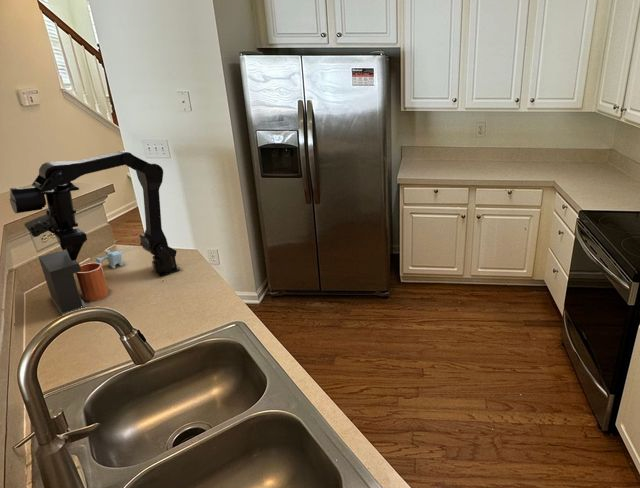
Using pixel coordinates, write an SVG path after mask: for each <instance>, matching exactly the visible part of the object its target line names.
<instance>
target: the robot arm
mask: <svg viewBox="0 0 640 488" xmlns="http://www.w3.org/2000/svg"><path fill="white" fill-rule="evenodd" d="M122 166H126V167H129V168H130V169H132V170H133V171H135V173H136V176H137V180H138V182H139V184H140V186H141V188H142V194H143V208H144V218H145V219H144V220H145V230H144V233H140V234H139V238H140V243H139V245H140V246H141V247H142V249H143V250H145V251H146V252H147V253H149V254H150V255H153V256H152V261H151V265H152V271H153V272H154V273H155V274H156V275H158V276H159V277H164V276H167V275H170V274H174V273H176V272H179V271H180V268H179V267H178V266H177V259H176V257H177V250H176V249H174V248H173V247H170V246H169V244H168V239H167V237H166V235H165V233H164V231H163V228H162V213H161V201H160V188H161V186H162V183H163V180H164V169H163V167H162V166H161V165H159V164H158V163H154V162H152V161H148V160H143V159H141V158H140V157H137V156H136V155H134V154H132V153H131V152H129V151H126V150H118V151H116V152H111V153H107V154H102V155H98V156H97V155H96V156H93V157H88V158H84V159H79V160H59V161H58V160H57V161H47V162H44V163H42V164H41V165H40V167H39V168H38V175H37V177H36V178H35V179H34V181H33V182H32V184H31V186H25V187H10V188H9V191H10V193H9V196H10V197H9V202H10V203H9V204H10V206H11V209H12V211H13V213H14V214H22V213H28V212H36V211H41V210H43V209H44V208H45V207H46V205H47V208H46V210H45V214H44V215H40V216H37V217H36V218H33V219H30V220H28V221H27V222H24V223H23V226H24V227H25V228H26V229H27V230H28V232H29V234H31V236H32V237H33V238H37V237H39V236H41V235H43V234H44V233H46V232H49V233H51V234H53V235H54V236H55V238H56V240H57V243H58V244H59V246H60V248H61V251H63V250H67V252H68V254H69V256H70V259H71V261H74V260H76V261H77V259H78V257H79V254H80V252H81V250H82V248H83V246H84V243H86V241H88V237H87V233H86V232H85V231H84V230H82V229H81V228H79V223H78V221H76V215H75V214H77V210H76V209H75V208H74V204H73V197H72V192H73V191H79V190H80V187H79V186H77V185H75V184H73V182H74V181H75V180H77V179H79V178H81V177H82V176H84V175H89V174H92V173H93V174H94V173H96V172H97V173H98V172H101V171H105V170H106V171H107V170H110V169H114V168H118V167H122ZM77 227H78V228H77Z"/></svg>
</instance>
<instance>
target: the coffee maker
mask: <svg viewBox="0 0 640 488" xmlns="http://www.w3.org/2000/svg"><path fill="white" fill-rule="evenodd" d="M38 261H39V263H40V266H41V269H42V273H43V277H44V280H45V282H46V285H47V288H48V291H49V295H50V297H51V300H52V301H53V303H54V305H55V306H56V308H57V309H58V310H59V312H60V314H61V315H62V316H63V314H66V313H68V312H71V311H75V310H78V309H81V308H85V307H87V308H88V305H87V304H86V303H85V302H86V301H85V300H84V299H83V298H81V297H82V296H81V295H80V292H79V289H78V285H77V282H76V281H77V280H76V278H75V274H76V273H77V272H80V271H81V268H80V266H81V265H80V263H79V261H78V260H77V259H76V260H74V261H71V259H70V256H69V254H68V252H67V249H66V250H60V251H59V250H58V251H55V252H52V253H48V254H43V255H39V256H38ZM81 306H82V307H81Z"/></svg>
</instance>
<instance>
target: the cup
mask: <svg viewBox="0 0 640 488" xmlns="http://www.w3.org/2000/svg"><path fill="white" fill-rule="evenodd" d="M80 268H81V271H80V272H77V273H75V276H76V281H77V284H78V287H79V290H80V294H81V297H82V300H83V301H84V302H93V301H97V300H101V299H103V298H105V297H106V296H108V295H109V288H108V284H107V280H106V277H105V272H104V269H103V265H102V263H101V264H100V263H97V262H89V263H85V264H81V265H80Z"/></svg>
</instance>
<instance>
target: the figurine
mask: <svg viewBox="0 0 640 488" xmlns="http://www.w3.org/2000/svg"><path fill="white" fill-rule="evenodd" d="M122 252H123V250H115V251H111V250H109V249H106V250H105V254H106V256H102V257H98V256H97V257H95V261H96V263H100V264H101V265H102V262H103V261H105V260H107V262H108V266H109V267H111V268H112V269H115V268H116V265H119V266H120V267H123V266H124V261H123V256H122Z"/></svg>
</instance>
